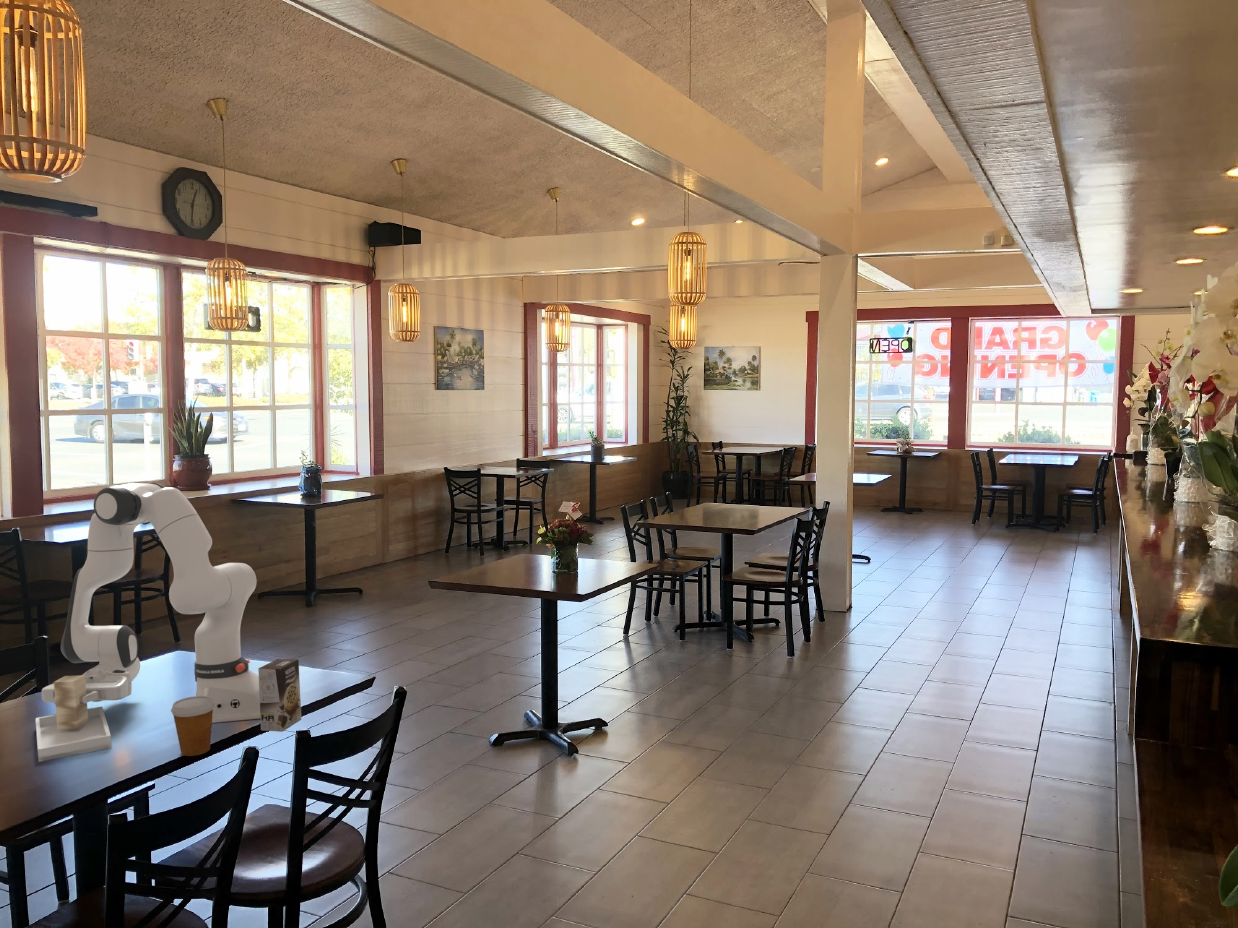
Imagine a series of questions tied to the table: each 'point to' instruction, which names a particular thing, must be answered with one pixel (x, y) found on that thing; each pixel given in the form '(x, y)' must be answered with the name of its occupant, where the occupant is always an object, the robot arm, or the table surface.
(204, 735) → the disposable coffee cup
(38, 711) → the table surface
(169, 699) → the table surface
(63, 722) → the ash block
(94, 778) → the table surface
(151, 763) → the table surface
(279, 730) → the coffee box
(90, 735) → the tray
